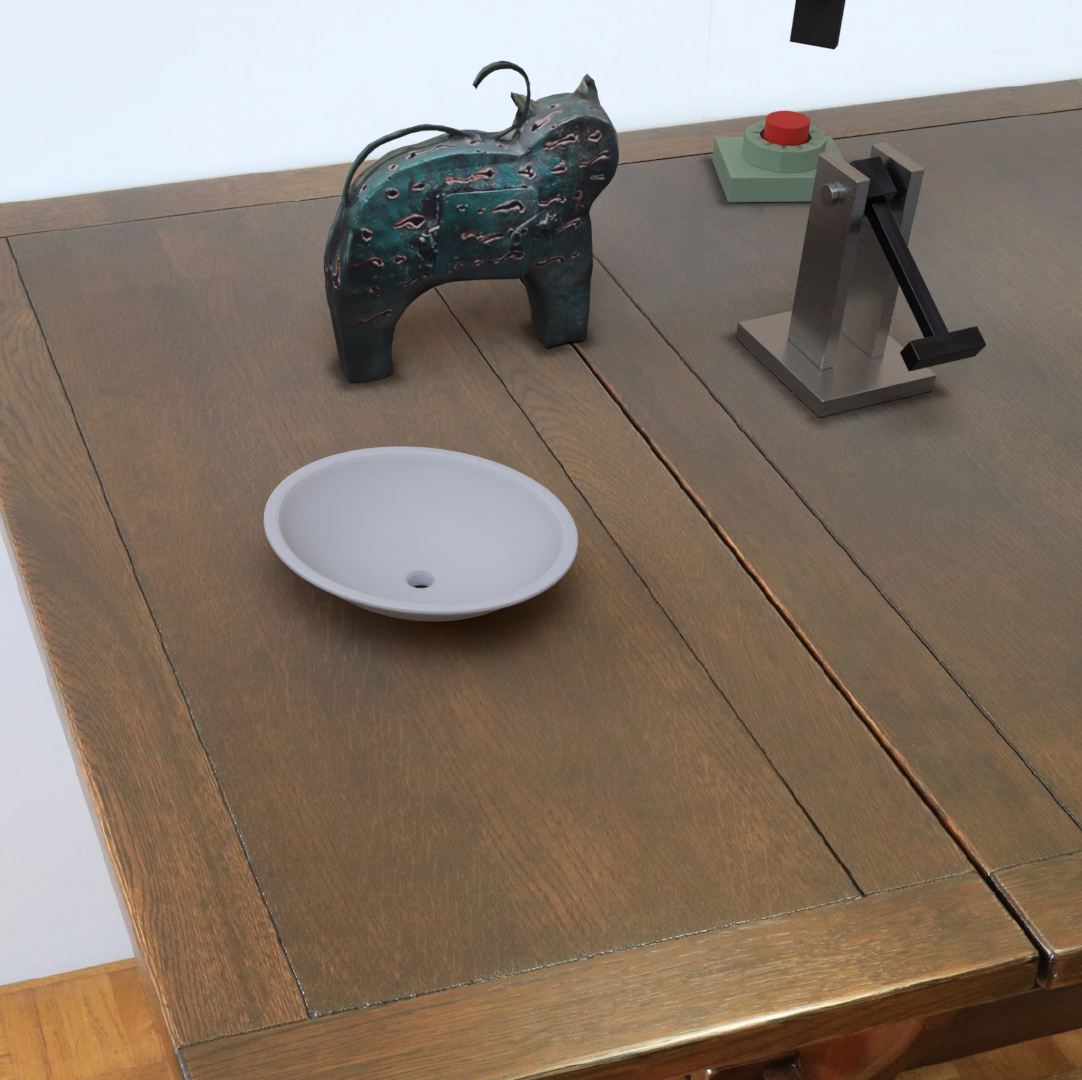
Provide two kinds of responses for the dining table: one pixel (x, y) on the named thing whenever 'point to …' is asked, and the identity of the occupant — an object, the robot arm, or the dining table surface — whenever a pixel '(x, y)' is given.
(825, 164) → the bracket
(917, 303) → the lever
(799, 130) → the button
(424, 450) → the white oval sink basin
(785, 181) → the button box
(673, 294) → the dining table surface
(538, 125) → the ceramic cat
